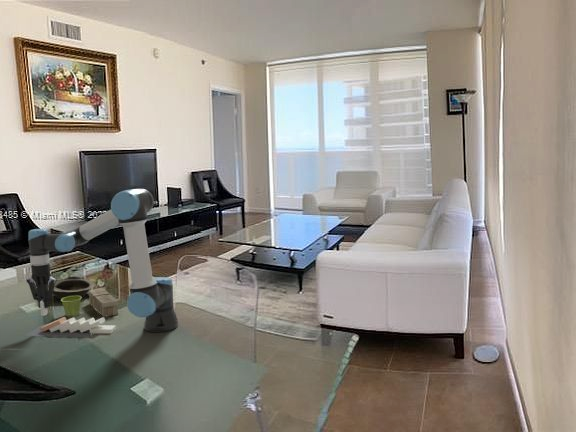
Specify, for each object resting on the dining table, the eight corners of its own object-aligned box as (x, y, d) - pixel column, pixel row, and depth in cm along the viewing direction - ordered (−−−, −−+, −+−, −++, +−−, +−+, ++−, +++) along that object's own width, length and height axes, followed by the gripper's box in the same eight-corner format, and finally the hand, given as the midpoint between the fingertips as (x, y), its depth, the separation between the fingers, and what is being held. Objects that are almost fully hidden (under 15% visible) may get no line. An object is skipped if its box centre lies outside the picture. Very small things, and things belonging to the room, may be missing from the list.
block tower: (89, 305, 254) (102, 318, 230) (87, 290, 253) (101, 302, 229) (104, 302, 258) (119, 315, 234) (103, 287, 257) (118, 298, 233)
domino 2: (57, 328, 216) (75, 320, 215) (51, 332, 211) (70, 324, 210) (55, 325, 216) (74, 316, 214) (49, 329, 211) (68, 320, 209)
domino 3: (66, 328, 215) (85, 320, 214) (60, 332, 210) (80, 324, 209) (65, 325, 215) (84, 317, 214) (59, 329, 210) (78, 320, 209)
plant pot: (77, 318, 230) (76, 301, 229) (58, 318, 230) (57, 301, 229) (86, 312, 239) (84, 295, 238) (67, 312, 240) (66, 295, 238)
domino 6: (95, 329, 215) (116, 329, 214) (89, 333, 210) (111, 333, 209) (94, 325, 214) (116, 325, 214) (89, 329, 209) (111, 329, 209)
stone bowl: (47, 293, 272) (48, 277, 272) (94, 290, 283) (94, 275, 282) (46, 304, 250) (46, 287, 249) (96, 301, 261) (97, 285, 260)
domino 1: (47, 328, 216) (66, 320, 215) (41, 332, 211) (60, 324, 210) (46, 324, 216) (64, 316, 215) (39, 328, 211) (58, 320, 210)
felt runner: (105, 326, 219) (105, 325, 219) (90, 338, 205) (90, 337, 205) (42, 325, 221) (42, 324, 221) (24, 337, 207) (24, 336, 207)
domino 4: (76, 328, 215) (95, 320, 214) (70, 332, 210) (90, 324, 209) (74, 325, 215) (93, 317, 214) (68, 329, 210) (88, 321, 209)
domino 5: (86, 328, 215) (105, 320, 214) (81, 332, 210) (100, 324, 209) (84, 325, 215) (103, 317, 214) (79, 329, 210) (98, 320, 209)
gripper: (59, 261, 213) (62, 312, 216) (31, 261, 214) (35, 311, 217) (49, 265, 205) (53, 317, 208) (20, 265, 206) (25, 317, 209)
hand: (44, 314), depth 212 cm, fingers closed
